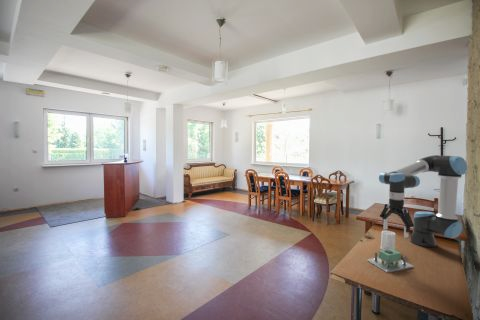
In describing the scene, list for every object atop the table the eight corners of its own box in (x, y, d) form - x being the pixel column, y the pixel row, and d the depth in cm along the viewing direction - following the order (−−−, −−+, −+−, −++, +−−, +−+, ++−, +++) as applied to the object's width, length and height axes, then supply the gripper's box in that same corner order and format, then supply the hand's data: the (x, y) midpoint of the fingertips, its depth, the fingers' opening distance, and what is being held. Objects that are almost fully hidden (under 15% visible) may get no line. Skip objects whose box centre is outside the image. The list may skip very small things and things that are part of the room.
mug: (391, 255, 153) (392, 237, 152) (377, 250, 159) (377, 233, 158) (396, 249, 161) (397, 232, 160) (382, 245, 167) (383, 229, 166)
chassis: (391, 256, 151) (392, 247, 150) (413, 267, 137) (414, 257, 137) (367, 260, 145) (367, 251, 144) (387, 272, 131) (387, 262, 131)
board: (391, 255, 145) (391, 247, 145) (400, 260, 139) (401, 252, 139) (378, 258, 142) (379, 249, 142) (387, 262, 136) (388, 254, 136)
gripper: (374, 194, 152) (373, 226, 153) (412, 204, 128) (411, 242, 130) (383, 194, 154) (382, 225, 156) (422, 203, 130) (420, 240, 132)
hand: (395, 233), depth 143 cm, fingers open, 13 cm apart
